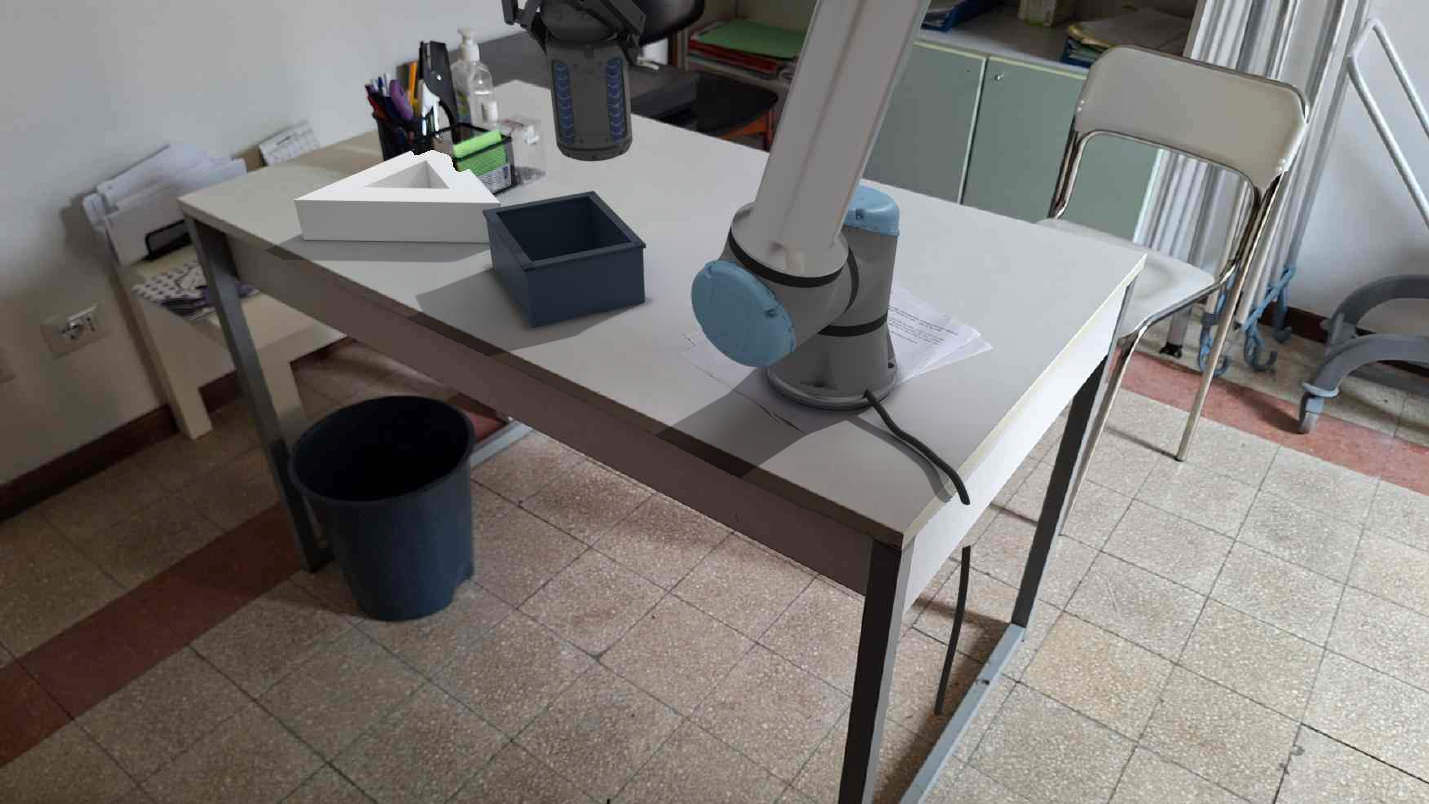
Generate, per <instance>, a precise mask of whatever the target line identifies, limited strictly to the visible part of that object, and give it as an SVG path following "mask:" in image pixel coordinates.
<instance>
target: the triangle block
mask: <svg viewBox="0 0 1429 804" xmlns="http://www.w3.org/2000/svg"><path fill="white" fill-rule="evenodd" d="M293 202H294V207H295V210H296V214H297V219H298V222H299V226H300V230H301V234H302V238H303V240H304V241H347V242H348V241H349V242H350V241H351V242H353V241H355V242H414V243H418V242H421V243H476V244H478V243H480V244H481V243H483V244H490V243H489V236H488V228H487V221H486V218H485V216H484V215H483V210H488V209H493V208H499V207H502V205H501V204H502V203H501V202H500V201H499V200H498V198H497V197H496V196H495V195H494V194H493V193H492V192H491V191H490V190H489V188H488V187H487V186H485V184H484V182H482V181H481V180H480V179H479V178H478V177H477V176H476V174H474V172H473V171H472V170H471V169H470V168H469V169H467V170H465V171H462V172H458V171H456V170H455V168H454V167H453V162H452V159H451V157H450V156H449V155H447V154H444V153H440V152H437V151H435V150H430V151H427V152H425V153H422V154H420V155H414V153H413V152H412V151H411V150H409V151H407V152H404V153H402V154H399V155H397V156H395V157H392V158H389V159H388V160H386V161H384V162H380V163H378V164H376V165H373V166H371V167H368V168H366V169H364V170H362V171H359V172H357V173H354V174H352V175H350V176H347V177H345V178H342V179H340V180H337V181H335V182H333V183H331V184H328V185H325V186H323V187H321V188H318V189H316V190H314V191H311V192H309V193H307V194H305V195H302V196H299V197H297V198H295V199H293Z"/></svg>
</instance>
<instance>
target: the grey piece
mask: <svg viewBox="0 0 1429 804" xmlns="http://www.w3.org/2000/svg"><path fill="white" fill-rule="evenodd" d="M539 12H540V16H541V19H542V20H543V23H544V24H545V25H546V26H547V28H548V29H549V36H548V38H547V39H546V40H545V45H546V54H547V56H546V63H547V72H548V81H549V88H550V98H551V106H552V107H551V108H552V115H553V125H554V133H555V142H556V147H557V148H558V150H559V151H560V153H561V154H562V156H564V157H566V158H568V159H571V160H576V161H581V162H602V161H608V160H612V159H615V158H617V157H620V156H622V155H624V154H626V153H627V152H628V151H629V150H630V148H631V146H632V144H633V138H634V137H633V123H632V111H631V96H630V95H631V94H630V81H629V67H628V65H629V63H628V61H627V59H626V57H625V55H624V53H623V52H622V50H621V48H620V46H619V44H618V42H617V40H616V36H617V33H615V32H614V31H612V30H611V29H610V28H608V27H607V26H605V25H604V24H602V23H601V22H599V21H598V20H597V19H595V18H594V17H592V16H591V15H589V14H588V13H586V12H585V11H581V12H579V11H577V10H575V9H574V8H573V7H571V6H570V5H568V4H565V3H560V2H554V3H551V2H546V0H542V1H541V3H540V6H539ZM546 54H545V55H546Z"/></svg>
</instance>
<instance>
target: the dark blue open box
mask: <svg viewBox="0 0 1429 804" xmlns="http://www.w3.org/2000/svg"><path fill="white" fill-rule="evenodd" d="M483 215H484V216H485V218H486V221H487V228H488V236H489V243H488V244H489V250H490V258H491V265H492V269H493V270H494V271H495V273H496V274H497V276H498V278H499V279H500V280H501V282H502V283H503V285H504V286H505V288H506V289H507V291H508V293H509V294H510V296H511V297H512V298H513V300H514V302H515V303H516V304H517V306H518V308H519V309H520V311H521V312H522V314H523V315H524V316H525V319H526V320H527V321H528V323H529V324H530V326H531V327H532V328H536V327H542V326H545V325H550V324H554V323H559V322H563V321H569V320H572V319H575V318H580V317H584V316H585V317H586V316H589V315H593V314H594V315H595V314H599V313H603V312H608V311H612V310H616V309H621V308H625V307H629V306H634V305H638V304H639V305H640V304H643V303H645V302H646V293H645V265H644V264H645V263H644V250H645V249H647V243H646V242H644V240H643V239H641V237H640V236H639V235H638V234H637V233H636V232H635V231H634V230H633V229H632V228H631V227H630V226H629V225H628V224H627V223H626V222H625V220H623V219H622V218H621V217H620V216H619V215H618V214H617V213H616V212H615V211H614V210H613V209H612V208H611V206H609V205H608V204H607V203H606V202H605V201H604V200H603V198H601V197H600V195H599V194H598V193H597V192H596V191H595V190H590V191H584V192H579V193H574V194H568V195H562V196H556V197H551V198H550V197H549V198H544V199H540V200H539V199H538V200H533V201H527V202H522V203H516V204H512V205H506V206H501V207H499V208H493V209H488V210H483Z"/></svg>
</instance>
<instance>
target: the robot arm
mask: <svg viewBox="0 0 1429 804" xmlns="http://www.w3.org/2000/svg"><path fill="white" fill-rule="evenodd" d="M541 1H542V0H526V2H525V3H524V7H523V8H520V7H519V0H501V1H500V2H501V8H502V14H503V20H504V23H505V24H506V25H508V26H514V25H515V24H517V25H519V27H520V28H521V29H523V30H525V31H526V33H527V35H528V36H529V37H530V38H531V39H532V40H533V41H536V42H537V44H538V45H539V47H540V48H541V49H542V51H543V53H544V54H545V56H546V57H547V54H546V45H545V40H546V39H547V38H548V36H549V29H548V28H547V26H546V25H545V24H544V23H543V20H542V19H541V16H540V11H538V9H540V7H539V6H540V3H541ZM546 2H551V3H554V2H560V3H565V4H568V5H570V6H571V7H573V8H574V9H575V10H577V11H579V12H581V11H585V12H586V13H588V14H589V15H591V16H592V17H594V18H595V19H597V20H598V21H599V22H601V23H602V24H604V25H605V26H607V27H608V28H610V29H611V30H612V31H614V32H615V33H617V36H616V40H617V42H618V44H619V46H620V48H621V50H622V52H623V53H624V55H625V57H626V59H627V64H628V65H629V67H632V68H637V63H638V59H639V55H640V51H641V47H640V45H639V43H640V42H639V41H640V37H642V36H643V32H644V27H645V23H646V19H647V15H646V14H645V13H644V12H643V11H642V10H641V8H639V7H638V6H637V5H636V3H634V2H633V1H632V0H546ZM931 2H932V0H816V3H815V5H814V10H813V12H812V15H811V18H810V21H809V25H808V29H807V32H806V35H805V37H804V41H803V45H802V48H801V51H800V55H799V57H798V61H797V64H796V67H795V70H794V74H793V77H792V79H791V83H790V87H789V89H788V92H787V96H786V99H785V101H784V105H783V109H782V111H781V115H780V119H779V122H778V125H777V128H776V131H775V134H774V137H773V140H772V143H771V148H770V150H769V153H768V157H767V159H766V163H765V167H764V170H763V173H762V176H761V179H760V183H759V186H758V190H757V193H756V195H755V197H754V198H755V199H754V200H753V201H751V202H748V203H746V204H744V205H742V206H741V207H740V208H738V210H736V212H735V213H734V215H733V217H732V219H731V222H730V226H729V230H728V232H727V236H726V240H725V242H724V247H723V249H722V252H721V254H720V255H719V257H718V258H717V259H713V260H711V261H708V262H706V263H705V265H704V266H703V267H702V269H700V270H699V271H698V272H697V274H696V275H695V277H694V279H693V280H692V284H691V289H690V300H691V306H692V307H691V308H692V310H693V313H694V317H695V319H696V321H697V323H698V324H699V326H700V327H701V330H702V332H703V334H704V335H705V337H706V338H707V340H709V342H710V343H711V344H712V345H713V346H714V347H715V349H717V350H718V351H719V352H720V353H721V354H723V356H725V357H726V358H728V359H730V360H731V361H733V362H735V363H736V364H739V365H742V366H746V367H750V368H758V367H759V368H762V367H766V373H767V374H766V375H767V378H768V380H769V383H770V384H771V385H772V386H773V387H774V388H775V389H776V391H778V392H779V393H780V394H781V395H783V396H784V397H786V398H788V399H790V400H792V401H794V402H796V403H799V404H801V405H805V406H809V407H813V408H819V409H825V410H851V409H857V408H862V407H866V406H870V405H871V406H872V407H873V408H874V410H875V411H876V412H877V414H878V415H879V417H880V418H881V421H882V422H883V423H884V424H885V425H886V427H887V428H888V429H889V431H891V433H892V434H894V436H896V437H898V438H899V439H901V440H902V441H904V442H906V443H907V444H909V445H911V446H912V447H914V448H915V449H917V450H918V451H919V452H920V453H922V454H923V456H925V457H926V458H927V459H928V460H929V461H930V462H932V463H933V464H934V465H935V466H936V467H937V468H938V469H940V470H941V471H942V472H943V473H945V474H946V475H947V477H948V479H950V480H951V482H952V484H953V485H954V487H955V489H956V492H957V494H958V497H959V500H960V502H961V504H962V505H964V506H970V505H971V499H970V496H969V494H968V490H967V488H966V486H965V483H964V481H963V480H962V478H961V476H960V475H959V473H958V472H957V471H956V470H955V469H954V468H953V467H952V466H951V465H950V464H949V463H947V462H946V461H945V460H944V459H942V458H941V457H939V456H938V455H937V453H935V452H934V451H933V450H932V449H930V448H929V447H928V445H926V444H924V443H923V442H922V441H921V440H919V439H917V438H916V437H915V436H913V435H912V434H909V433H908V432H906V431H904V430H903V429H901V428H900V427H899V426H898V425H897V424H896V422H895V421H894V420H893V418H892V417H891V416H890V414H889V413H888V411H887V409H886V408H885V407H884V406H883V405H882V403H881V402H880V401H881V400H883V399H884V398H885V397H887V396H888V395H889V394H890V392H892V390H893V388H894V386H895V384H896V378H897V369H898V363H897V359H896V354H895V349H894V345H893V340H892V336H891V333H890V329H889V323H888V316H889V309H890V300H891V293H892V285H893V278H894V270H895V262H896V254H897V249H898V241H899V236H900V234H901V231H900V228H899V226H900V208H899V205H898V203H897V202H896V201H895V200H894V199H893V198H892V197H891V196H890V195H888V194H887V193H886V192H882V191H881V190H878V189H876V188H873V187H870V186H867V185H862V184H860V182H861V180H862V177H863V174H864V173H865V170H866V167H867V164H868V162H869V160H870V157H871V155H872V151H873V149H874V147H875V144H876V142H877V139H878V137H879V134H880V131H881V129H882V126H883V124H884V121H885V118H886V117H887V113H888V111H889V109H890V106H891V104H892V101H893V98H894V96H895V94H896V91H897V89H898V86H899V83H900V82H901V81H900V80H901V77H902V76H903V74H904V70H905V68H906V65H907V62H908V60H909V58H910V55H911V53H912V50H913V47H914V45H915V43H916V40H917V37H918V35H919V32H920V31H921V27H922V24H923V22H924V19H925V18H926V14H927V12H928V10H929V7H930V4H931ZM971 551H972V545H971V544H969V545H966V546H963V547H961V558H960V572H959V584H958V592H957V600H956V607H955V613H954V618H953V623H952V628H951V632H950V636H949V641H948V645H947V649H946V654H945V658H944V662H943V667H942V671H941V675H940V679H939V683H938V688H937V693H936V698H935V703H934V709H933V715H934V716H936V717H940V716H942V713H943V707H944V702H945V697H946V693H947V688H948V683H949V679H950V675H951V671H952V666H953V663H954V659H955V655H956V650H957V648H958V647H957V646H958V642H959V638H960V634H961V629H962V624H963V619H964V614H965V609H966V603H967V596H968V588H969V579H970V569H971V568H970V567H971Z"/></svg>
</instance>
